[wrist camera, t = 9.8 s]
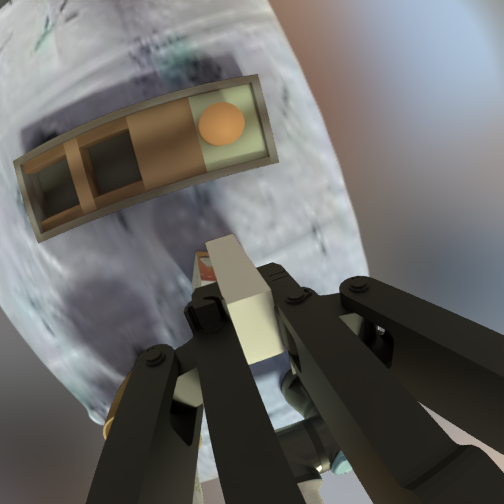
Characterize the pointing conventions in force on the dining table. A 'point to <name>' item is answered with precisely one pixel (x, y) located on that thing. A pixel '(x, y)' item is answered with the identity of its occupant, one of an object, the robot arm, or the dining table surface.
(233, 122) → the brown egg
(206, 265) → the small box
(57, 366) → the dining table surface
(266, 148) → the track
